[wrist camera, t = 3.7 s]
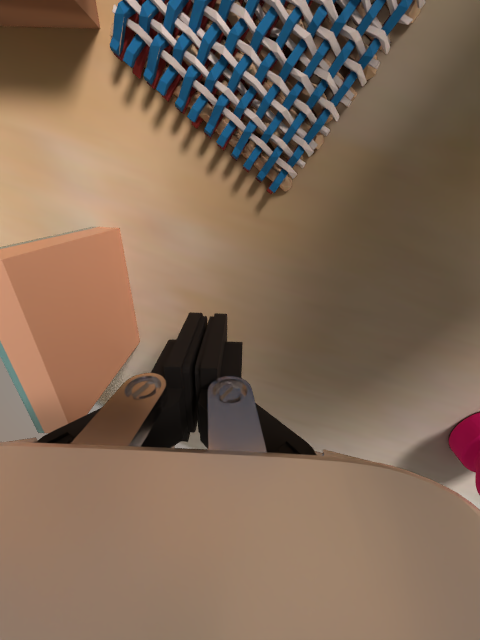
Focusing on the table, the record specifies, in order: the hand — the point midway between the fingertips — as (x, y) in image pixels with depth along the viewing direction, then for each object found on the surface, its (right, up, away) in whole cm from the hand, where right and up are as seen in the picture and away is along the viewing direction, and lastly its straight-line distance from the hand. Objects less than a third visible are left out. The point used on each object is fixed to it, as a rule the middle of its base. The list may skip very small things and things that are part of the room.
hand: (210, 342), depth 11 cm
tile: (-7, +3, +5) cm, 9 cm away
